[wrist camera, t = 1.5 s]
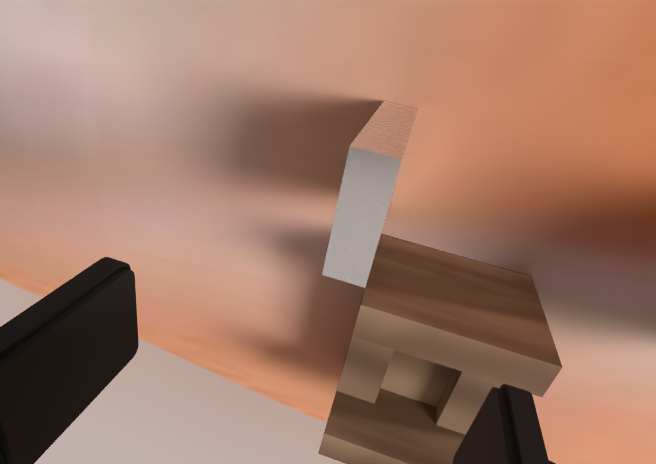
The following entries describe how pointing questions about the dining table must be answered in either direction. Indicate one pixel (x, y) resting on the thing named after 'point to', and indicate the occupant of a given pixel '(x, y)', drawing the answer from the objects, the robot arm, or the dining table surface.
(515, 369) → the wooden spool frame
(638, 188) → the dining table surface
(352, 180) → the grey slab
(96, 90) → the dining table surface
